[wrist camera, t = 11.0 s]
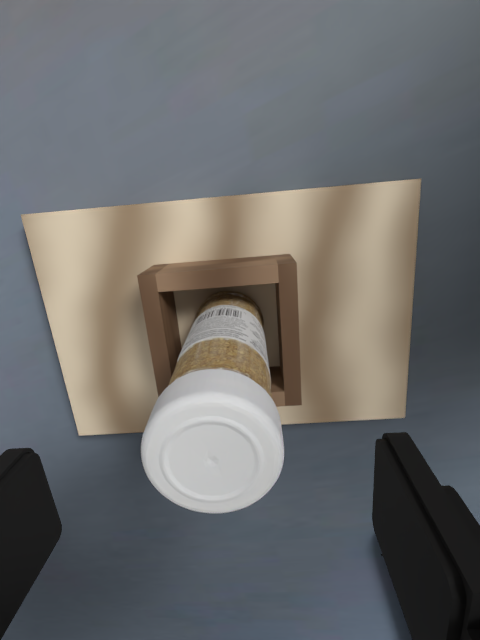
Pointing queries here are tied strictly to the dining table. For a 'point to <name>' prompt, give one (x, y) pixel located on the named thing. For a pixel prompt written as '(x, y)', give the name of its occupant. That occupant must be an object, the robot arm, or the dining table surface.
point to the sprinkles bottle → (217, 414)
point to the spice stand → (238, 276)
